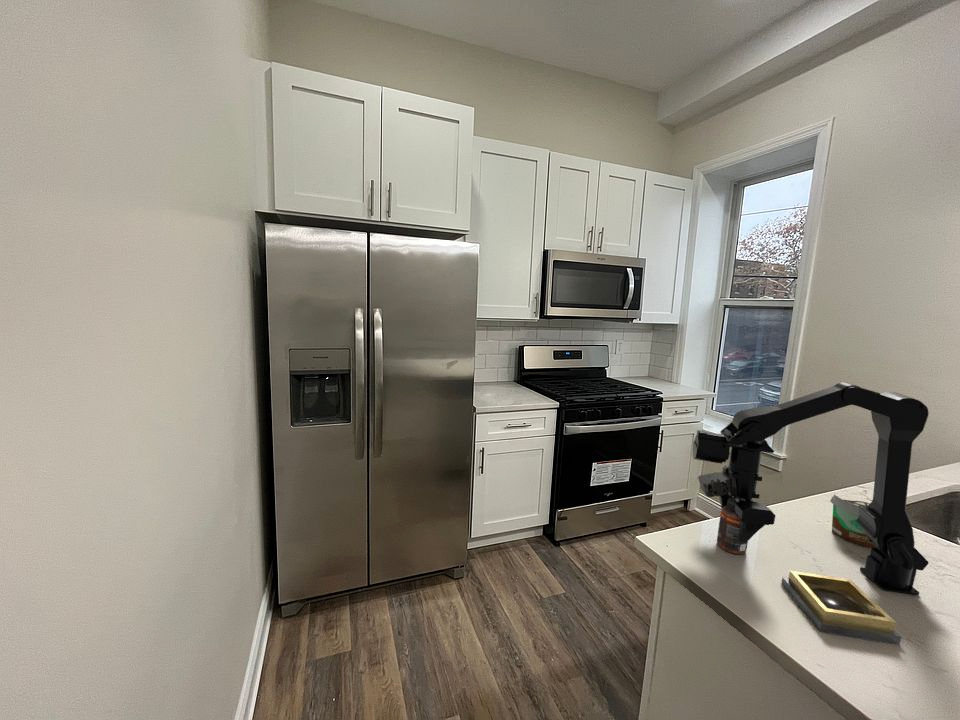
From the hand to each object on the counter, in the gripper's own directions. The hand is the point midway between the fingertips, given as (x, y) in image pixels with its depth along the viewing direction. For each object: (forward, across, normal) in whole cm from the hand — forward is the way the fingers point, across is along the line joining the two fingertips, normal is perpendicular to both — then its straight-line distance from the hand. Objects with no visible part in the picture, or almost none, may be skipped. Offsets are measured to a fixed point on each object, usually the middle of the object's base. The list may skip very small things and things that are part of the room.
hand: (734, 530), depth 92 cm
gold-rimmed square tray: (+4, +17, +11) cm, 21 cm away
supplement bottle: (+5, 0, 0) cm, 5 cm away
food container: (+5, -10, +33) cm, 35 cm away
